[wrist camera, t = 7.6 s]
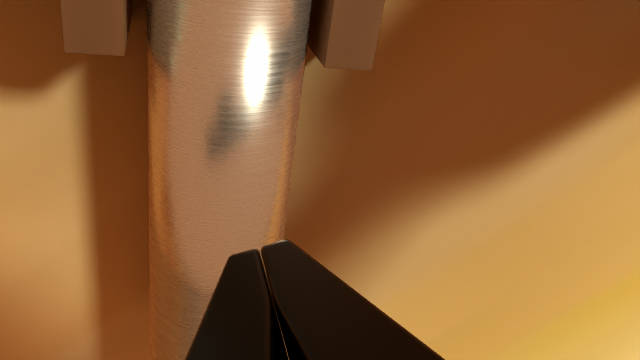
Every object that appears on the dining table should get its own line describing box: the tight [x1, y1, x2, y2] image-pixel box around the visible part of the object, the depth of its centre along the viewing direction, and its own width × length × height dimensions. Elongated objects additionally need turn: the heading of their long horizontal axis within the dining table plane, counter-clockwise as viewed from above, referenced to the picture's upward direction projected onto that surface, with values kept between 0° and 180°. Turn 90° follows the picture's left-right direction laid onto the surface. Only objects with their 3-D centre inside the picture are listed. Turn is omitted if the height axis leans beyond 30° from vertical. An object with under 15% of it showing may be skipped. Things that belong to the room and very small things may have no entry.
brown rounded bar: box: [147, 0, 313, 360], centre depth 18 cm, size 15×4×4 cm, turn 173°
